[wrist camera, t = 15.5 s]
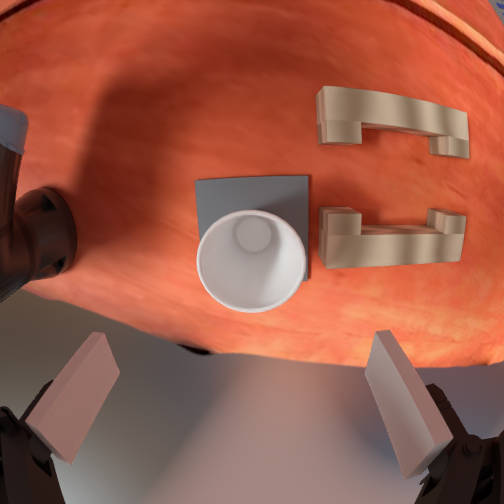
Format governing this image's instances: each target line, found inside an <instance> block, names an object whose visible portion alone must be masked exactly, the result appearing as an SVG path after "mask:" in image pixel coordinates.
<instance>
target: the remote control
mask: <svg viewBox="0 0 504 504" xmlns="http://www.w3.org/2000/svg"><path fill="white" fill-rule="evenodd" d="M488 1H489V2H490V4H491V5H492V7H493V8H494V10H495V11H496V13H497V15H498V16H499V18H500V20H501V21H502V23H503V25H504V0H488Z"/></svg>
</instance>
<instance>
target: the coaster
mask: <svg viewBox="0 0 504 504" xmlns="http://www.w3.org/2000/svg"><path fill="white" fill-rule="evenodd" d="M195 190H196V203H197V215H198V226H199V236H200V241H201V239H202V238H203V236H204V234H205V232H206V231H207V230H208V229H209V228H210V227H211V225H212V224H213V223H215V222H216V221H218V220H219V219H220V218H222V217H224V216H226V215H228V214H230V213H233V212H237V211H241V210H259V211H265V212H268V213H271V214H274V215H276V216H278V217H280V218H281V219H283V220H284V221H286V222H287V223H288V224H289V225H290V226H291V227H292V228H293V229H294V230H295V231H296V233H297V234H298V236H299V237H300V239H301V241H302V244H303V246H304V249H305V255H306V270H305V274H304V278H303V280H302V281H307V275H308V225H309V201H308V176H258V177H236V178H220V179H206V180H195Z"/></svg>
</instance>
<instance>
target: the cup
mask: <svg viewBox="0 0 504 504" xmlns="http://www.w3.org/2000/svg"><path fill="white" fill-rule="evenodd" d="M197 270H198V274H199V277H200V280H201V282H202V284H203V285H204V287H205V289H206V290H207V291H208V293H209V294H210V295H211V296H212V297H213V298H214V299H216V300H217V301H218V302H219V303H221V304H223V305H224V306H226V307H228V308H231V309H234V310H237V311H241V312H248V313H253V312H263V311H268V310H271V309H273V308H276V307H278V306H280V305H281V304H283V303H285V302H286V301H287V300H288V299H289V298H290V297H292V296H293V295H294V293H295V292H296V291H297V289H298V288H299V286H300V284H301V282H302V280H303V278H304V274H305V270H306V255H305V249H304V246H303V244H302V241H301V239H300V237H299V236H298V234H297V233H296V231H295V230H294V229H293V228H292V227H291V226H290V225H289V224H288V223H287V222H286V221H284V220H283V219H281V218H280V217H278V216H276V215H274V214H271V213H268V212H265V211H259V210H241V211H237V212H233V213H230V214H228V215H226V216H224V217H222V218H220V219H219V220H218V221H216V222H215V223H213V224H212V225H211V227H210V228H209V229H208V230H207V231H206V232H205V234H204V236H203V238H202V239H201V241H200V244H199V248H198V251H197Z"/></svg>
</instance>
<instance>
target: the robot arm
mask: <svg viewBox="0 0 504 504" xmlns="http://www.w3.org/2000/svg"><path fill="white" fill-rule="evenodd" d="M28 125H29V121H28V117H27V115H26V114H25V113H24V112H23V111H21V110H18V109H15V108H12V107H9V106H5V105H2V104H0V303H1V302H2V301H4V300H5V299H6V298H8V297H9V296H10V295H11V294H13V293H14V292H16V291H17V290H18V289H20V288H21V287H22V286H24V285H25V284H27V283H28V282H30V281H34V280H41V279H47V278H53V277H56V276H58V275H59V274H61V273H62V272H64V271H65V270H66V269H68V268H69V266H70V265H71V263H72V261H73V259H74V256H75V252H76V245H77V237H76V229H75V224H74V220H73V217H72V214H71V212H70V210H69V208H68V206H67V204H66V203H65V201H64V200H63V199H62V197H61V196H60V195H59V194H57V193H56V192H55V191H53V190H51V189H48V188H39V189H34V190H31V191H29V192H27V193H25V194H24V195H23V196H22V197H20V198H19V199H18V200H17V201H16V202H15V198H16V190H17V183H18V176H19V170H20V165H21V160H22V155H24V152H25V150H24V145H25V140H26V135H27V130H28ZM119 374H120V372H119V370H118V367H117V365H116V362H115V360H114V357H113V355H112V352H111V350H110V347H109V344H108V342H107V339H106V336H105V333H98V332H93V333H92V334H91V335H90V336H89V337H88V338H87V340H86V341H85V342H84V343H83V344H82V346H81V347H80V348H79V349H78V351H77V352H76V353H75V354H74V356H73V357H72V358H71V359H70V361H69V362H68V363H67V364H66V366H65V367H64V368H63V370H62V371H61V372H60V374H59V375H58V376H57V377H56V379H55V380H51V381H50V382H48V383H47V384H45V385H44V387H43V388H42V389H41V390H40V392H39V394H37V396H36V397H35V400H33V401H32V403H31V404H30V405H29V407H28V408H27V409H26V411H25V412H24V414H23V415H22V417H21V418H20V419H19V420H18V419H17V418H16V417H15V415H14V414H13V413H12V411H11V410H10V409H9V408H8V407H6V406H2V407H0V504H65V501H64V498H63V495H62V492H61V488H60V485H59V482H58V478H57V475H56V471H55V467H54V463H53V460H52V458H51V457H50V455H51V453H53V454H54V455H55V456H56V457H57V458H58V459H59V460H61V461H63V462H65V463H68V464H70V465H71V464H72V462H73V460H74V458H75V456H76V454H77V452H78V450H79V448H80V446H81V444H82V442H83V440H84V438H85V436H86V434H87V432H88V431H89V429H90V427H91V425H92V423H93V421H94V419H95V417H96V415H97V413H98V412H99V410H100V408H101V406H102V404H103V402H104V401H105V399H106V397H107V395H108V393H109V392H110V390H111V388H112V386H113V384H114V383H115V381H116V379H117V377H118V375H119ZM365 376H366V378H367V381H368V383H369V386H370V388H371V391H372V393H373V395H374V398H375V400H376V403H377V405H378V408H379V411H380V413H381V415H382V418H383V421H384V423H385V426H386V429H387V431H388V434H389V437H390V440H391V442H392V445H393V448H394V451H395V454H396V456H397V459H398V462H399V465H400V468H401V471H402V474H403V477H404V480H406V479H409V478H412V477H414V476H417V475H420V474H422V472H424V471H425V469H426V468H427V467H428V470H429V472H430V473H429V474H428V475H427V476H426V477H425V478H424V479H423V480H422V481H421V482H420V485H422V484H423V483H424V485H423V487H422V489H421V491H420V493H419V495H418V498H417V500H416V501H415V503H414V504H504V430H503V431H502V432H501V433H500V435H499V436H498V437H494V438H489V439H483V440H482V439H480V438H479V437H478V436H476V435H469V434H468V433H467V431H466V430H465V428H464V426H463V425H462V423H461V421H460V419H459V417H458V416H457V414H456V412H455V411H454V409H453V408H452V407H451V404H450V402H449V401H447V397H446V396H445V394H444V392H443V391H442V390H441V389H440V388H439V387H437V386H436V385H434V384H430V385H426V386H425V385H424V384H423V382H422V380H421V379H420V377H419V375H418V374H417V372H416V370H415V369H414V367H413V366H412V364H411V362H410V361H409V359H408V358H407V356H406V354H405V353H404V351H403V350H402V348H401V347H400V345H399V343H398V342H397V340H396V339H395V337H394V336H393V334H392V333H391V331H390V330H384V331H376V332H375V335H374V340H373V344H372V348H371V352H370V356H369V360H368V363H367V367H366V371H365Z"/></svg>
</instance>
